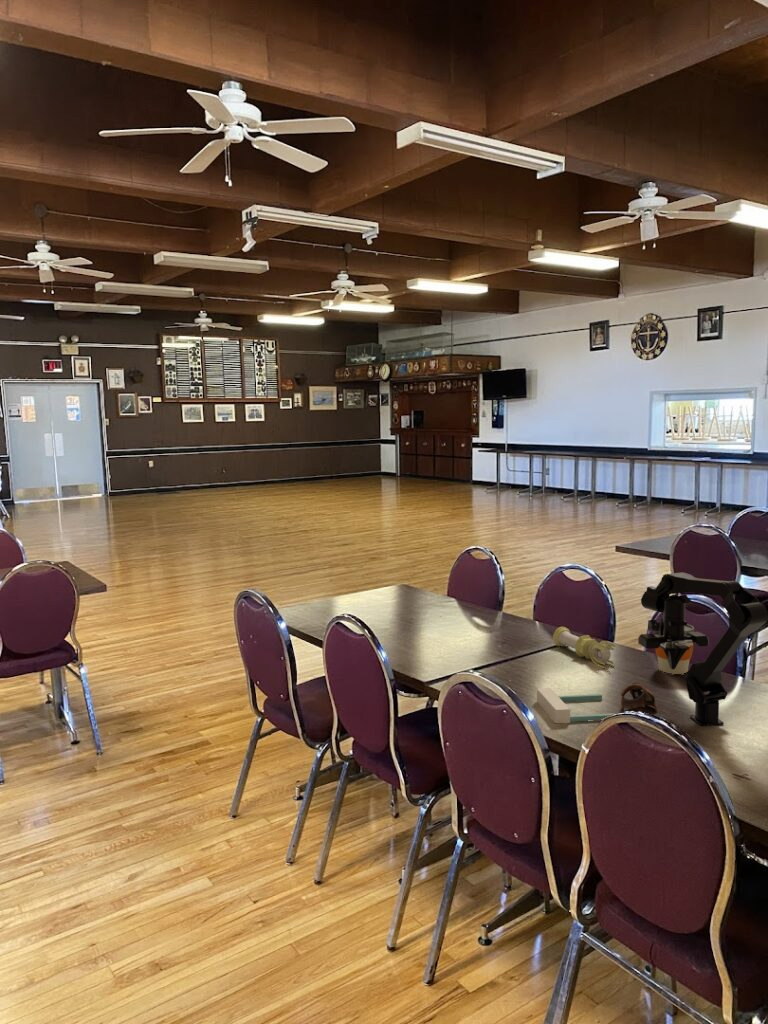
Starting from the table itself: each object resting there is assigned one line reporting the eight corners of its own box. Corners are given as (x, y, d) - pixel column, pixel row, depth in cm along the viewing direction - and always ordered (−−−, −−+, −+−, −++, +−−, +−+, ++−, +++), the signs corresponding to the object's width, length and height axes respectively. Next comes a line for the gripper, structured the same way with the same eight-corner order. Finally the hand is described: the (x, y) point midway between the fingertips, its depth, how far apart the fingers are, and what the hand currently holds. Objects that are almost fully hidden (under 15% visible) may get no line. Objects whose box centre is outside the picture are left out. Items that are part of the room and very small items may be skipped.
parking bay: (624, 720, 204) (624, 706, 203) (555, 724, 202) (556, 709, 201) (600, 698, 220) (600, 685, 220) (536, 701, 218) (536, 688, 218)
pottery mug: (664, 717, 207) (653, 695, 204) (632, 729, 209) (620, 707, 207) (651, 692, 218) (641, 670, 216) (621, 704, 220) (611, 683, 218)
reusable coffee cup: (644, 667, 249) (646, 623, 247) (674, 662, 253) (675, 619, 251) (671, 678, 237) (672, 633, 235) (702, 673, 241) (703, 629, 240)
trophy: (551, 626, 273) (602, 647, 245) (568, 624, 276) (620, 644, 248) (551, 647, 274) (601, 670, 246) (568, 645, 277) (620, 668, 249)
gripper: (690, 608, 220) (688, 659, 222) (630, 610, 218) (629, 661, 220) (710, 617, 209) (708, 671, 211) (647, 620, 207) (646, 674, 209)
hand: (672, 669), depth 213 cm, fingers closed
